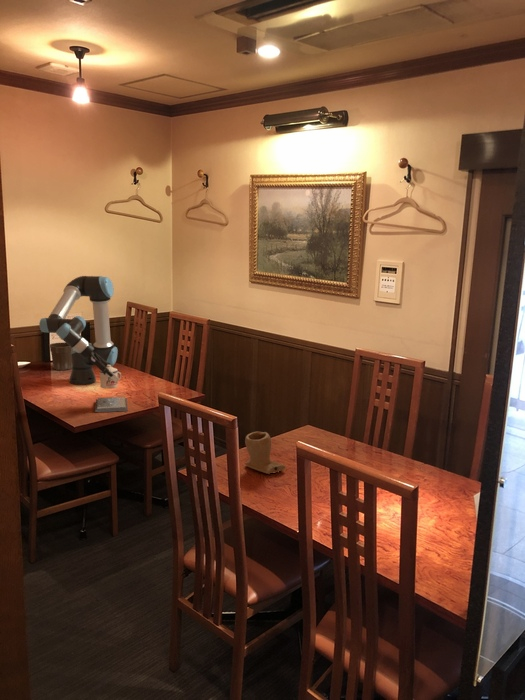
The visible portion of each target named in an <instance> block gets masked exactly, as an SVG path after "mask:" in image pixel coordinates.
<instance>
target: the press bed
mask: <svg viewBox="0 0 525 700" xmlns="http://www.w3.org/2000/svg"><path fill="white" fill-rule="evenodd" d="M94 406H95V407H94V413H95V412H99V413H112V412H113V413H114V412H115V413H116V411H119V412H128V398H127V397H126V396H116V397H98V398H97V399H95V405H94Z"/></svg>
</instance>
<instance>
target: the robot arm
mask: <svg viewBox="0 0 525 700" xmlns="http://www.w3.org/2000/svg"><path fill="white" fill-rule="evenodd" d="M113 296H114V285H113V282H112V280H111V278H110V277H107V276H101V275H99V276H98V275H94V276H93V275H81V276H78V277H75V278H73V279H72V280H71V281H69V282H68V283H67V284H66V285H65V287H64V289H63V294H62V295H61V297H60V298H59V300H57V303H56V304H55V306H54V308H53V310H52V311H51V312H50V314H49V315H48V317H42V318H40V321H39V325H38V326H39V330H40V331H41V332H42V333H47V334H49V333H51V334H56V335H57V336H58V337H59V338H60V340H62V341H63V342H66V343H67V344H68V345H69V346H71V347H72V351H71V356H72V369H71V373H70V376H69V383H70V384H71V385H77V386H78V385H80V386H81V385H82V386H83V385H89V384H94V383H95V382H96V381H97V380H96V379H97V378H96V374H95V371H94V370H93V366H95V367H97V369H99V371H100V370H101V371H102V372H103V373H104V375H105V374H106V375H108V376H109V377H110V378H111V379H112V380H113V381H114V382H116V381H117V380H118V379H119V378H118V377H119V373H117V376H116V375H115V374H114V373H113V372H112V371H110V370H109V369H108V368H107V365H111V367H113V366H114V365H115V364H116V362H117V360H118V359H117V358H118V354H119V353H118V352H119V350H118V347H116V346H115V345H114V342H113V341H112V339H111V328H110V313H109V312H110V311H109V302H110V301H111V299H112V297H113ZM81 297H88V299H89V301H90V302H91V303H92V310H93V322H94V336H95V337H94V338H95V342H94V343H93V345H92V343H91V342H89V341H88V340H87V339H86V338H84V337H83V336H82V335H81V333H82V332H83V331H84V330H85V328H86V325H87V321H86V320H85V319H84V317H82V316H78V315H76V316H74V317H72V318H67V316H68V314H69V313H70V312H71V310H72V308H73V306H74V304H75V303H76V301H78V300H79V299H80V298H81ZM118 381H119V380H118Z"/></svg>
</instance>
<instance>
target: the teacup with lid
mask: <svg viewBox="0 0 525 700" xmlns="http://www.w3.org/2000/svg"><path fill="white" fill-rule="evenodd" d="M107 368H108V369H109V370H110V371H112V372H113V373H114V374H115V375H116V376H117V377H118V378H119V379H118V380H117V381H116V382H114V381H113V380H112V379H111V378H110V377H109V376H108V375H106V374H105V375H104V373H103V372H102V371H101V370H100V369H99V376H100V377H99V378H100V379H99V381H100V385H99V387H100V388H101V389H103V390H104V389H106V390H109V389H110V390H111V389H116V388H117V387H118V381H120V380H121V378H122V373H121V372H120V371H118V369H117V368H116V367H113V366H111V365H107ZM117 373H119V374H118V375H117Z"/></svg>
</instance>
